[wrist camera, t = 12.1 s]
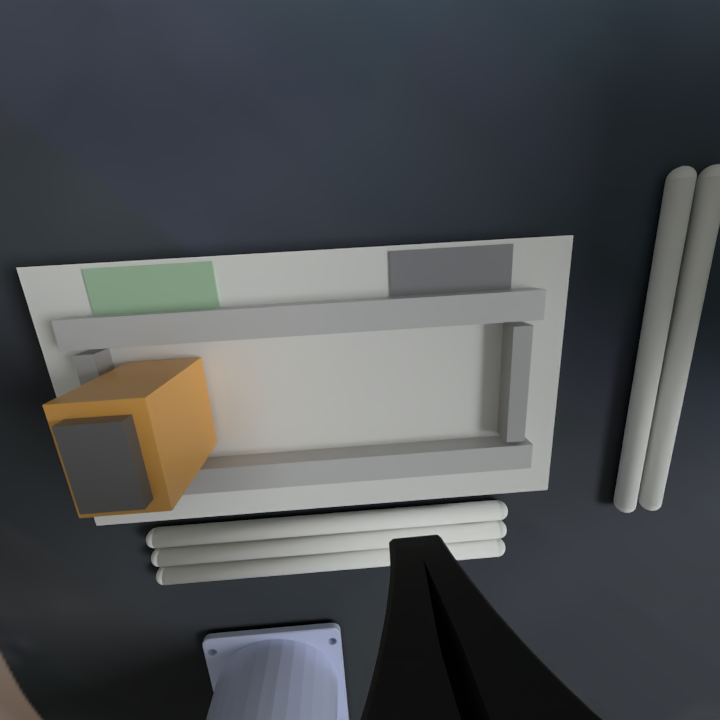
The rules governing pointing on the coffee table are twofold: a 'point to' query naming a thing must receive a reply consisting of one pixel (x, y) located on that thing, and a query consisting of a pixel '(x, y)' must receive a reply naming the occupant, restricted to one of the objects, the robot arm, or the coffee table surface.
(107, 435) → the lever
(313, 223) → the coffee table surface
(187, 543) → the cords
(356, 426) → the white flat tray
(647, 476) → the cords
